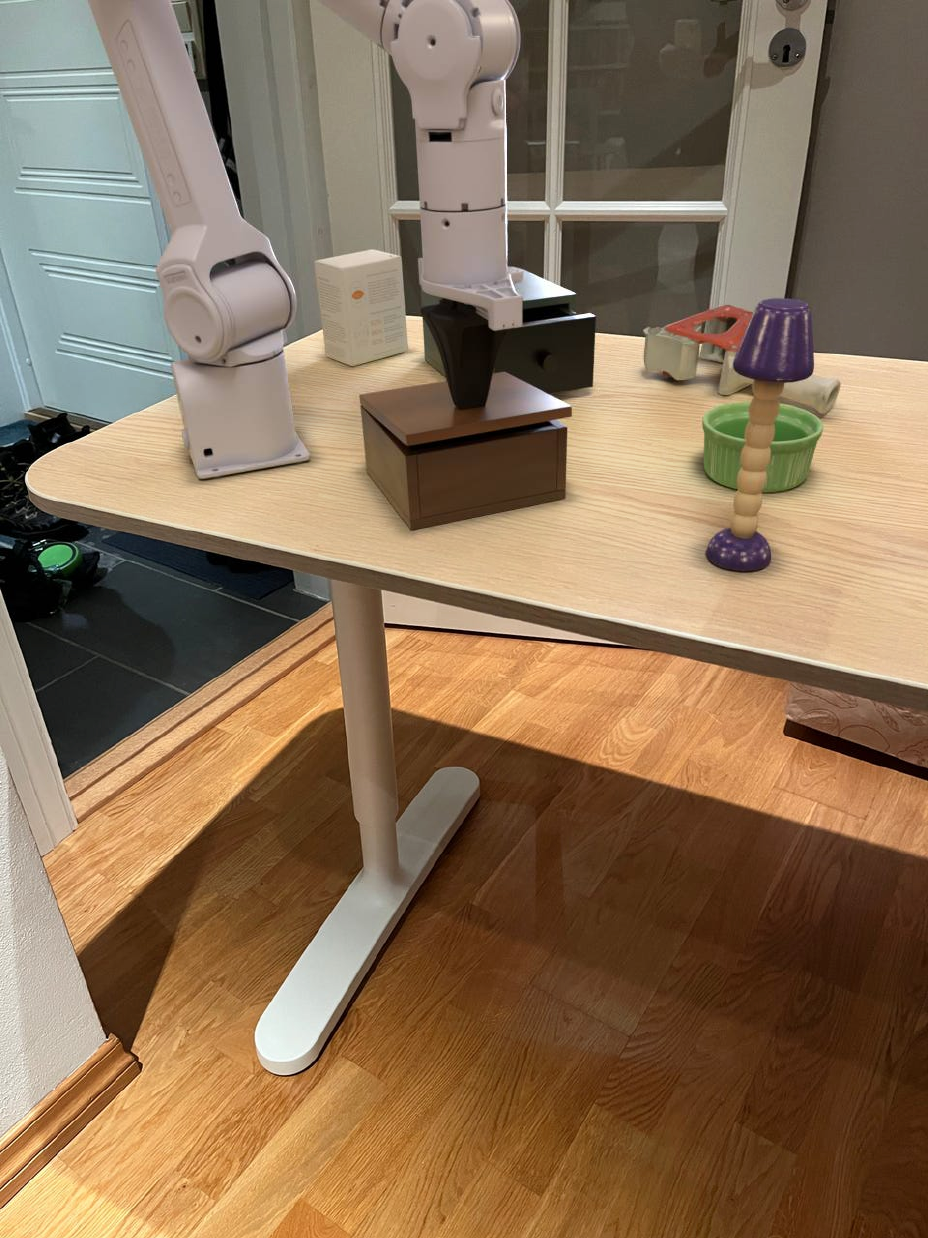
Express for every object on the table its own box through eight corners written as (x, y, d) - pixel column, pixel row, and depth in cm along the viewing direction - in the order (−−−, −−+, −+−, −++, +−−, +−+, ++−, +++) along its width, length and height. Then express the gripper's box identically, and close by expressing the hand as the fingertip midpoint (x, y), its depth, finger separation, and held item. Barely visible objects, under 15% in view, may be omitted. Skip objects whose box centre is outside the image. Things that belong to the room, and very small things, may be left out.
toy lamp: (728, 533, 64) (762, 289, 55) (791, 553, 61) (838, 299, 52) (694, 559, 61) (724, 305, 52) (759, 581, 58) (803, 317, 49)
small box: (381, 342, 107) (373, 248, 101) (409, 352, 103) (403, 254, 98) (324, 356, 103) (312, 259, 97) (351, 367, 99) (340, 267, 94)
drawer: (599, 390, 87) (602, 319, 84) (500, 407, 84) (499, 333, 81) (538, 353, 98) (539, 288, 95) (449, 367, 95) (446, 300, 92)
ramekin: (697, 448, 77) (702, 398, 74) (808, 454, 75) (817, 402, 73) (696, 493, 70) (702, 439, 67) (819, 500, 68) (830, 445, 65)
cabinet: (574, 379, 93) (576, 293, 88) (469, 397, 90) (466, 308, 85) (519, 345, 104) (519, 267, 99) (424, 360, 101) (420, 279, 96)
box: (565, 498, 70) (567, 426, 66) (410, 530, 66) (405, 456, 63) (505, 446, 79) (505, 381, 76) (366, 472, 75) (360, 404, 72)
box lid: (572, 416, 65) (572, 405, 65) (407, 446, 62) (405, 434, 61) (505, 380, 76) (504, 371, 75) (360, 404, 72) (358, 394, 72)
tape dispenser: (840, 434, 82) (796, 354, 98) (855, 378, 79) (808, 305, 95) (644, 425, 83) (633, 347, 99) (652, 369, 80) (639, 299, 96)
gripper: (568, 214, 55) (562, 428, 62) (478, 186, 66) (482, 370, 74) (459, 226, 53) (467, 445, 60) (386, 195, 64) (400, 383, 72)
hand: (469, 405), depth 67 cm, fingers closed
